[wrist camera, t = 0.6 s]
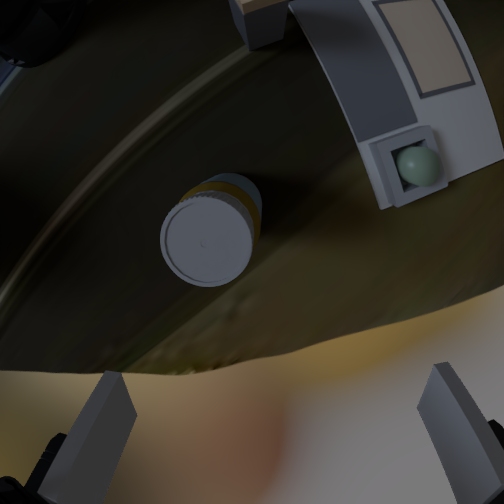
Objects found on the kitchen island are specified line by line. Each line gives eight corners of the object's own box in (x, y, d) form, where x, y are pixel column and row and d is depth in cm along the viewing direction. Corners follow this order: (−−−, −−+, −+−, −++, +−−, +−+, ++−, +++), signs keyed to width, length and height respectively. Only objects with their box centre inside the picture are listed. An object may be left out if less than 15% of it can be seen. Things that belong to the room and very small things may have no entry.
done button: (389, 152, 29) (401, 153, 26) (419, 141, 28) (432, 142, 25) (400, 187, 30) (413, 192, 27) (429, 176, 29) (444, 179, 26)
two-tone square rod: (235, 24, 27) (220, -28, 16) (267, 12, 27) (268, -43, 15) (249, 51, 28) (241, 5, 17) (283, 38, 28) (290, -11, 16)
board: (287, 5, 26) (290, -8, 23) (428, -18, 23) (439, -28, 19) (379, 208, 33) (390, 215, 30) (501, 157, 30) (517, 159, 26)
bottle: (252, 164, 33) (241, 175, 18) (269, 225, 35) (271, 280, 20) (191, 182, 33) (139, 207, 19) (210, 241, 36) (174, 301, 21)
